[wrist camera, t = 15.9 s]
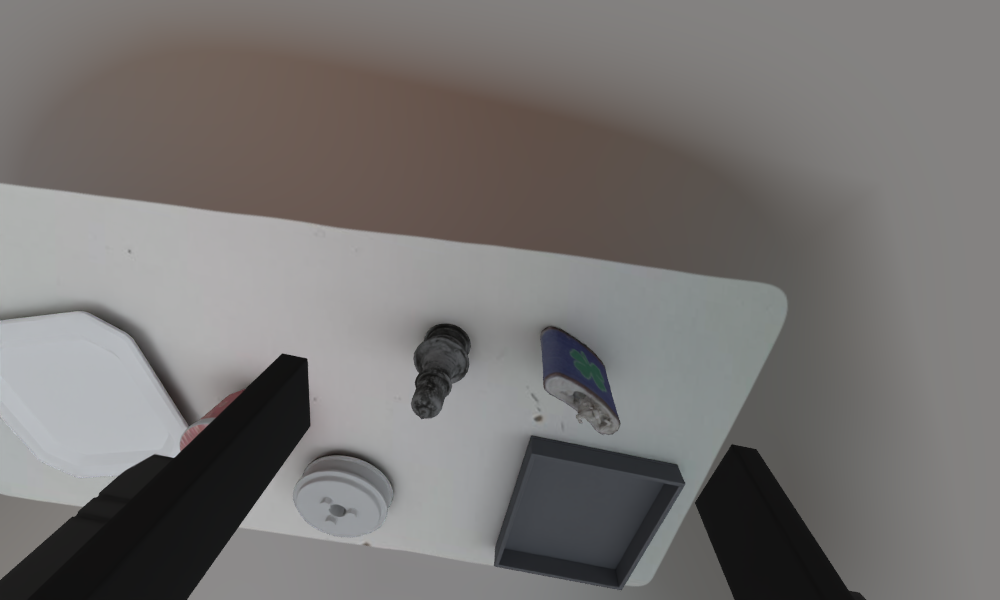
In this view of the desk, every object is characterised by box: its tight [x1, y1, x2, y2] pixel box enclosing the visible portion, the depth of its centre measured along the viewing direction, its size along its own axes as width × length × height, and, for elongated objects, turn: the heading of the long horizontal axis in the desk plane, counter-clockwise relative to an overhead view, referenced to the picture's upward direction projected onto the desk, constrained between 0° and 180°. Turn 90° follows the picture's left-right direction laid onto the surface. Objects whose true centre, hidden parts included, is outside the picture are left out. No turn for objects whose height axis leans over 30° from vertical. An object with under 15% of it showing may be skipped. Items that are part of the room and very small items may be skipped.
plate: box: [0, 311, 189, 478], centre depth 50 cm, size 25×25×2 cm
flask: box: [540, 327, 620, 435], centre depth 39 cm, size 9×3×11 cm, turn 49°
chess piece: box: [411, 324, 471, 419], centre depth 39 cm, size 6×6×12 cm
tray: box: [494, 436, 685, 590], centre depth 53 cm, size 23×19×3 cm
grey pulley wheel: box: [293, 455, 393, 537], centre depth 53 cm, size 13×13×5 cm
